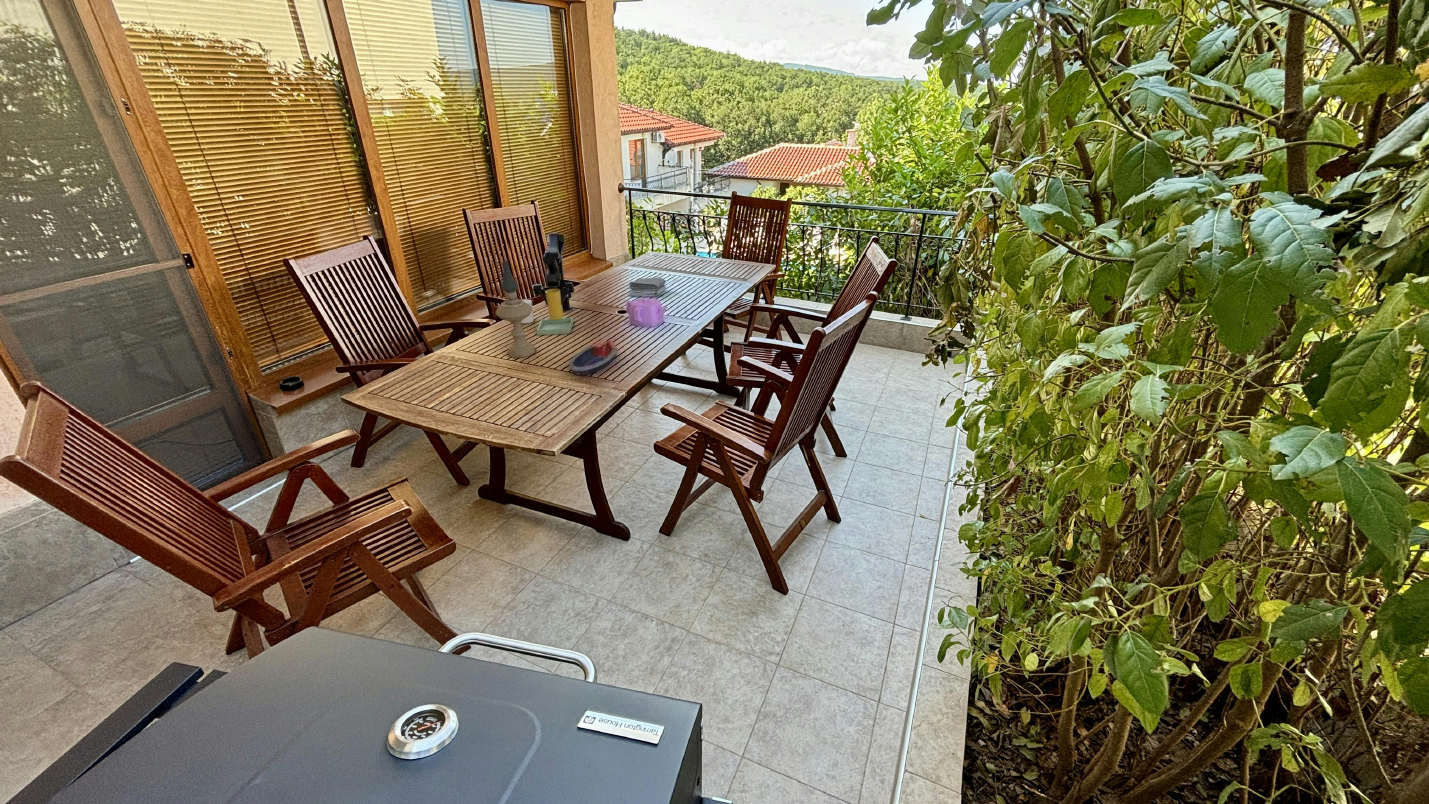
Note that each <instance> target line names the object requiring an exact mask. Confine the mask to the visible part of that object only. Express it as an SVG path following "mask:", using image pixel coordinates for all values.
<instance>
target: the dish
mask: <svg viewBox="0 0 1429 804" xmlns="http://www.w3.org/2000/svg"><path fill="white" fill-rule="evenodd" d="M617 353H618V347H617V346H616V344H615V342H613V341H612V340H607V341H602V342H598V343H595V344H593V345H592V344H591V345H589V346H587V347H585V348H584V349H582V350H581V351H579V352H577V353H576V354H575V355H574V356H573V357H572V358H571V359H570V360H569V363H568V364H569V365H568V367H569V369H570V370H571V371H572V373H573V374H575V375H577V376H585V375H590V374H594V373H596V372H598V371H599V372H600V370H602V369H604V368H606V367H608V366H609V365H610V364H611V363H612V362H613V361H614V360H615V358H616V356H617Z"/></svg>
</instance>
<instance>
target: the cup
mask: <svg viewBox="0 0 1429 804" xmlns="http://www.w3.org/2000/svg"><path fill="white" fill-rule="evenodd" d="M545 293H546V299H547V311H548V317H549V319H561V318H565V317H564V311H563V308H562V305H561V294H560V290H559V289H549V290H546V291H545Z"/></svg>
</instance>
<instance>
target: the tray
mask: <svg viewBox="0 0 1429 804" xmlns="http://www.w3.org/2000/svg"><path fill="white" fill-rule="evenodd" d="M573 325H574V317H563V318H561V319H550V318H545V319H544V318H542V319H541V320H540V322H539V324H538V326H537V328H536V335H537V336H544V335H545V336H546V335H564V334H571V331H572V328H573Z"/></svg>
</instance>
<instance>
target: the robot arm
mask: <svg viewBox="0 0 1429 804" xmlns="http://www.w3.org/2000/svg"><path fill="white" fill-rule="evenodd" d="M546 238H547V239H546V240H547V244H548V248H547V249H546V250H545V252H544V254H543V257H542V262H543V265H544V268H545V269H546V274H545V276H544V277H545V285H546V286H543V285H542V284H540V283H538V284H533V285H532V286H531V287H532V291H533V294H534V295H535V296H540V297H542V299H543V301H544V303H545V306H546V307H548V305H547V299H546V293H545V291H546V290H549V289H559V290H560V294H561V305H562V308H563V312H567V311H569V310H572V309H573V307H572V306H571V305H570V299H572V294H574V293H575V287H574V283H573V282H571V281H570V282H566V281H565V275H564V263H563V261H564V260H563V252H564V251H565V248H566V247H565V245H566V237H565V235H564V234H561V233H559V232H550V233H548V235H547V237H546Z"/></svg>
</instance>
